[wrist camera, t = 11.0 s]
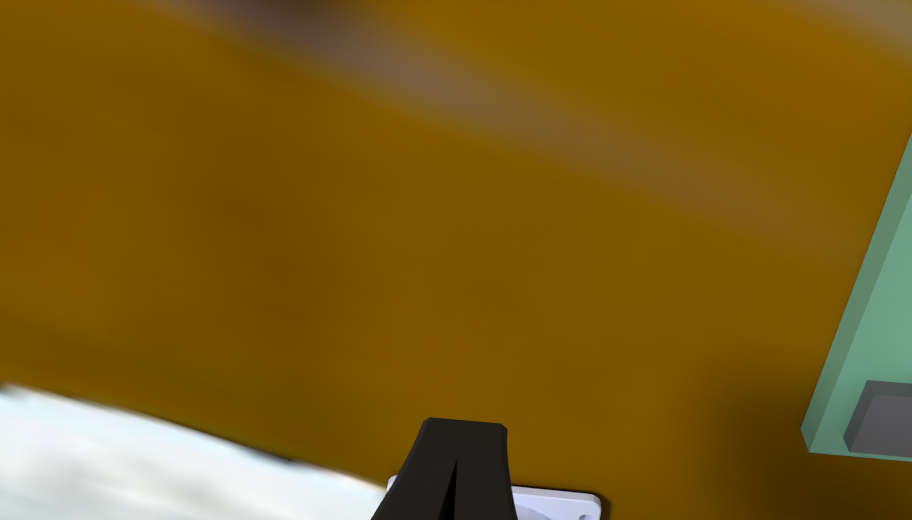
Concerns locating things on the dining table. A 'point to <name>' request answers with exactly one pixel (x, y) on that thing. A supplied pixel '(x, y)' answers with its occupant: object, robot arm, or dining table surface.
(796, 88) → the dining table surface
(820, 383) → the board
